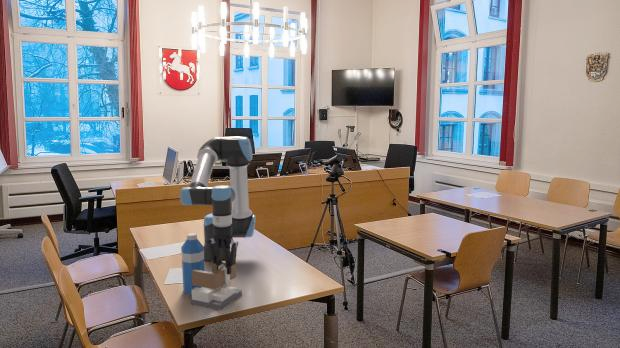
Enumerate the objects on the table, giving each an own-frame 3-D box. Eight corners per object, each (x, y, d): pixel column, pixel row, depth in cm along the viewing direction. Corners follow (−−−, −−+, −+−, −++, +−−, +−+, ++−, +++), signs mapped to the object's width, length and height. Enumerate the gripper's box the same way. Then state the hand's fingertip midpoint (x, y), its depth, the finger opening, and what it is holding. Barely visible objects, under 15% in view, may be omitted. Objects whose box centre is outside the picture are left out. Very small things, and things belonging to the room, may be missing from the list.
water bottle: (185, 286, 203) (182, 231, 199) (206, 285, 204) (204, 231, 200) (181, 295, 194) (178, 237, 190) (203, 294, 195) (201, 237, 191)
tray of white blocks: (191, 312, 186) (190, 289, 184) (214, 296, 200) (213, 276, 199) (220, 318, 180) (219, 295, 179) (242, 302, 195) (241, 280, 193)
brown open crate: (192, 285, 184) (191, 270, 183) (214, 272, 197) (213, 259, 196) (215, 289, 179) (215, 274, 178) (236, 276, 193) (236, 262, 192)
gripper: (201, 225, 183) (203, 281, 186) (233, 228, 177) (235, 287, 180) (212, 220, 190) (214, 275, 193) (243, 224, 184) (245, 280, 187)
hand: (224, 280), depth 187 cm, fingers closed on brown open crate, 2 cm apart
